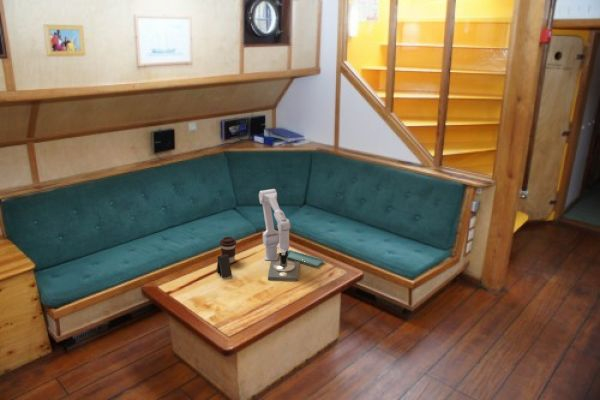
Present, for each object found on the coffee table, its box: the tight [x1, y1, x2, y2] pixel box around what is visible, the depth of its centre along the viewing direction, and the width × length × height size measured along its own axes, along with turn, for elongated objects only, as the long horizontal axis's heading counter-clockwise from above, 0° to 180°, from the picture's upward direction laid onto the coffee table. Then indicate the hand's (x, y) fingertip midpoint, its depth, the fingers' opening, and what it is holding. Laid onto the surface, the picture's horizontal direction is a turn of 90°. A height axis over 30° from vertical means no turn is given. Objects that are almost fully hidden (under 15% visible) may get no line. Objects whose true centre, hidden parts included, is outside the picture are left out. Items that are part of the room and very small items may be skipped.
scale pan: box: [273, 260, 295, 272], centre depth 292 cm, size 13×13×1 cm
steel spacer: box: [279, 257, 288, 267], centre depth 291 cm, size 4×4×6 cm
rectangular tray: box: [287, 249, 325, 268], centre depth 305 cm, size 26×9×2 cm, turn 58°
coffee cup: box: [219, 236, 237, 264], centre depth 300 cm, size 10×10×15 cm
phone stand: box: [216, 254, 233, 278], centre depth 286 cm, size 9×6×12 cm, turn 32°
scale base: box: [267, 260, 300, 282], centre depth 290 cm, size 20×17×2 cm
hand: (284, 260), depth 291 cm, fingers open, 7 cm apart
